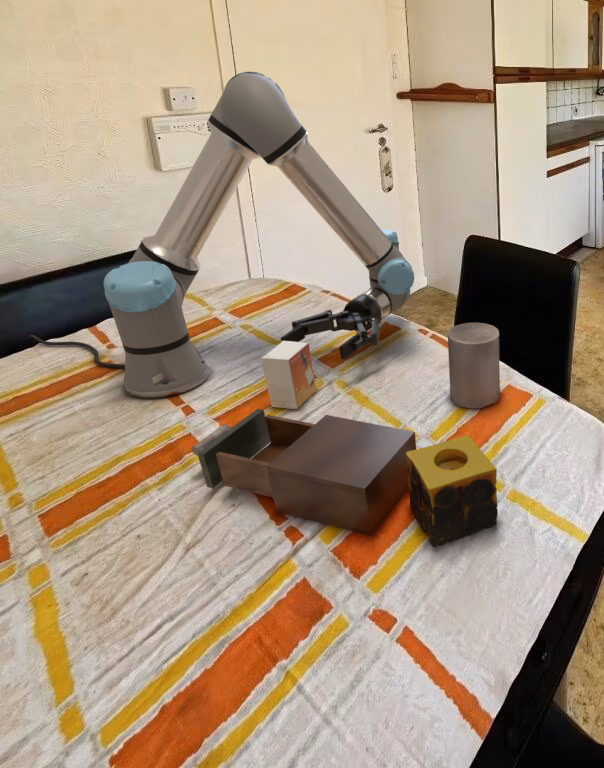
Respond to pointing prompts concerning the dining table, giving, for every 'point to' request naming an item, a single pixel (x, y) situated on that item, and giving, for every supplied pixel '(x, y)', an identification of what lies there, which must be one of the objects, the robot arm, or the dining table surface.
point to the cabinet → (343, 474)
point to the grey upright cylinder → (474, 364)
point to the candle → (452, 490)
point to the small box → (289, 374)
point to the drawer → (247, 451)
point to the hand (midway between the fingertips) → (312, 348)
